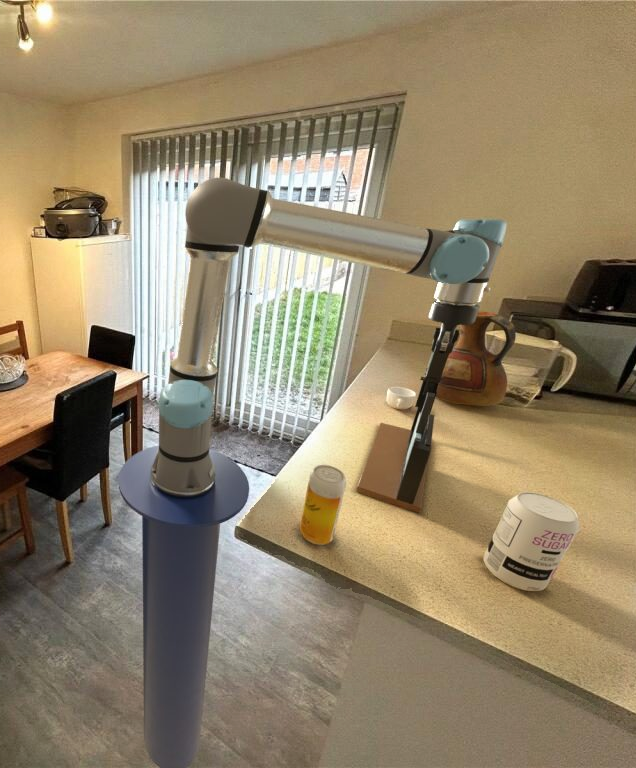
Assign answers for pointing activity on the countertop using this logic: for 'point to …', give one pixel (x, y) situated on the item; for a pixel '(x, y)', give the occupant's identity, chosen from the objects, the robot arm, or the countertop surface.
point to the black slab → (420, 423)
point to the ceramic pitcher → (476, 365)
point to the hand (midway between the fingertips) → (422, 406)
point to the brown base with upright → (398, 465)
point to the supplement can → (531, 540)
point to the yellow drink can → (322, 504)
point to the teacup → (400, 397)
